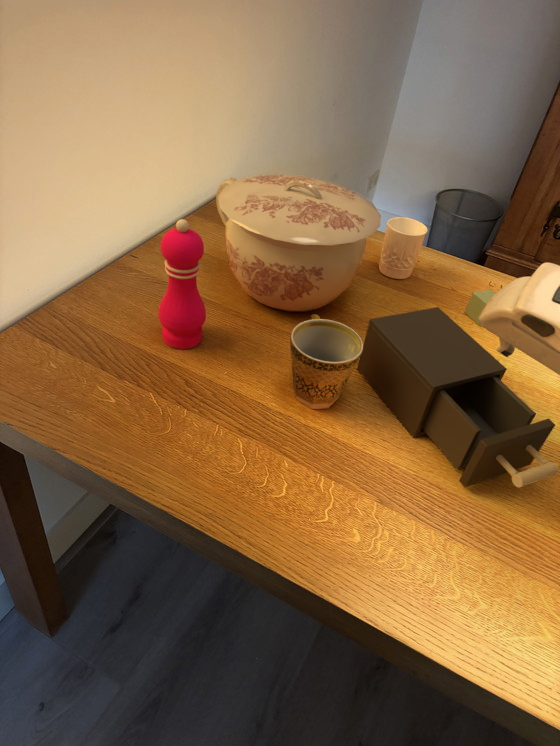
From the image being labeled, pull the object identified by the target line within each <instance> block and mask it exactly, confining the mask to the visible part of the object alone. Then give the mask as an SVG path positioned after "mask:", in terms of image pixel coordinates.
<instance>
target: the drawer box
mask: <svg viewBox="0 0 560 746" xmlns="http://www.w3.org/2000/svg"><path fill="white" fill-rule="evenodd" d="M356 366H357V367H356V370H357V371H358V372H359V374H360V375H361V376H362V377H363V378H364V380H365V381H366V382H367V384H368V385H369V386H370V387H371V388H372V389H373V390H374V391H375V393H376V394H377V396H378V397H379V398H380V400H382V401H383V403H384V404H385V405H386V406H387V408H388V409H389V411H390V412H391V413H392V414H393V415H394V416H395V417H396V419H397V420H398V421H399V423H400V424H401V425H402V426H403V428H405V430H406V431H407V432H408V433H409V435H410V436H411V437H412V438H413V439H415V438H419V437H422V436H425V435H427V434H426V433H425V431H424V430H423V429H422V425H423V423H424V420H425V418H426V416H427V413H428V411H429V408H430V406H431V403H432V401H433V398H434V396H435V393H436V391H437V390H440V389H444V388H448V387H452V386H456V385H460V384H464V383H468V382H472V381H476V380H480V379H484V378H487V377H491V376H496V377H497V378H499V379H500V380H501V381H502V379H503V378H504V376H505V374H506V372H507V370H508V368H507V367H506V366H504V365H503V364H502V363H501V362H500V361H499V360H498V359H497V358H495V356H494V355H492V354H491V353H490V352H489V351H488V350H487V349H485V347H483V346H482V345H481V344H480V343H478V341H477V340H475V339H474V337H472V336H471V335H470V334H469V333H468V332H467V331H466V330H464V329H463V328H462V327H461V326H460V325H459V324H458V323H457V322H455V320H453V319H452V318H451V317H450V316H448V315H447V313H445V311H443V310H442V309H441V308H440V307H439V306H436V307H431V308H430V307H429V308H424V309H419V310H414V311H408V312H407V311H406V312H403V313H396V314H390V315H384V316H380V317H374V318H369V322H368V326H367V330H366V334H365V337H364V341H363V351H362V353H361V356H360V358H359V360H358V362H357V365H356Z"/></svg>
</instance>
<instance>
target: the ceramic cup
mask: <svg viewBox="0 0 560 746" xmlns="http://www.w3.org/2000/svg"><path fill="white" fill-rule="evenodd" d="M289 335H290V337H289V338H290V340H289V345H290V346H289V347H290V358H291V368H292V369H291V372H292V373H291V375H292V390H293V392H294V397H295V399H296V401H297V402H299V403H301V404H302V405H304V406H306V407H308V408H309V409H312V410H319V409H321V410H322V409H323V410H324V409H325V410H326V409H330V407H331V406H332V405H333V404H334V403H335V402H337V400H338V399H339V398H340V396H341V394H342V392H343V390H344V388H345V386H346V384H347V383H348V380H349V378H350V376H351V374H352V372H353V371H354V370H355V368H356V366H357V365H358V362H359V359H360V356H361V353H362V351H363V344H364V341H363V340H362V338H361V336H360V335H359V334H358V332H356V331H355V330H354V329H353V328H351V327H349V326H348V325H346V324H345V323H342V322H339V321H336V320H331V319H325V318H321V317H320V316H319V315H318V314H315V313H314V314H311V316H310V319H308V320H304V321H301V322H299V323H297V324H296V325H295V326H294V327H293V328H292V330H291V332H290V334H289Z"/></svg>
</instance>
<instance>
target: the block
mask: <svg viewBox="0 0 560 746" xmlns="http://www.w3.org/2000/svg"><path fill="white" fill-rule="evenodd" d="M496 293H497V292H495V291H494V290H492V289H491V288H490V289H483V290H479V291H473V292H471V295H470V298H469V300H468V303H467V305H466V308H465V310H464V314H465V315H466V316H467V317H468V318H470V319H471V320H472V321H474V322H475V324H477V325H478V326H479V327H482V326H481V324H480V322H479V316H480V314H481V313H482V311H483V309H484V308H485V306H486V305H487V303H488V302H489V300H490V299H491V298H492V297H493V296H494V295H495V294H496Z"/></svg>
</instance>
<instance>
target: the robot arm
mask: <svg viewBox="0 0 560 746" xmlns="http://www.w3.org/2000/svg"><path fill="white" fill-rule="evenodd" d="M495 293H496V294H495V295H494V296H493V297H492V298H491V299H490V300H489V302H488V303H487V305H486V306H485V308H484V309H483V311H482V313H481V314H480V316H479V322H480V324H481V326H480V327H481V328H483V329H485V330H486V331H488V332H490V333H492V334H493V335H494V336H496V337H498V339H499V346H497V348H496V352H497V353H499V354H500V355H502V356H504V357H506V358H508V357H509V356H512V355H513V354H514V352H515V350H516V349H517V350H518V351H521V352H522V353H524V354H525V355H527V356H528V357H530V358H532V360H535V361H536V362H538V363H539V364H541V365H543V366H544V367H545V368H547V369H549V370H551V371H552V372H554V373H555V374H557V375H559V376H560V265H559V264H556V263H553V262H543V263H541V264H540V265H539V266H538V267H537V268H536V270H535V271H533V273H532V275H531V276H529V275H528V276H520V277H518V278H516V279H513V280H511V282H509V283H507V284H506V285H504V286H503V287H501V288H500V289H499V290H498V291H497V292H495Z"/></svg>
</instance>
